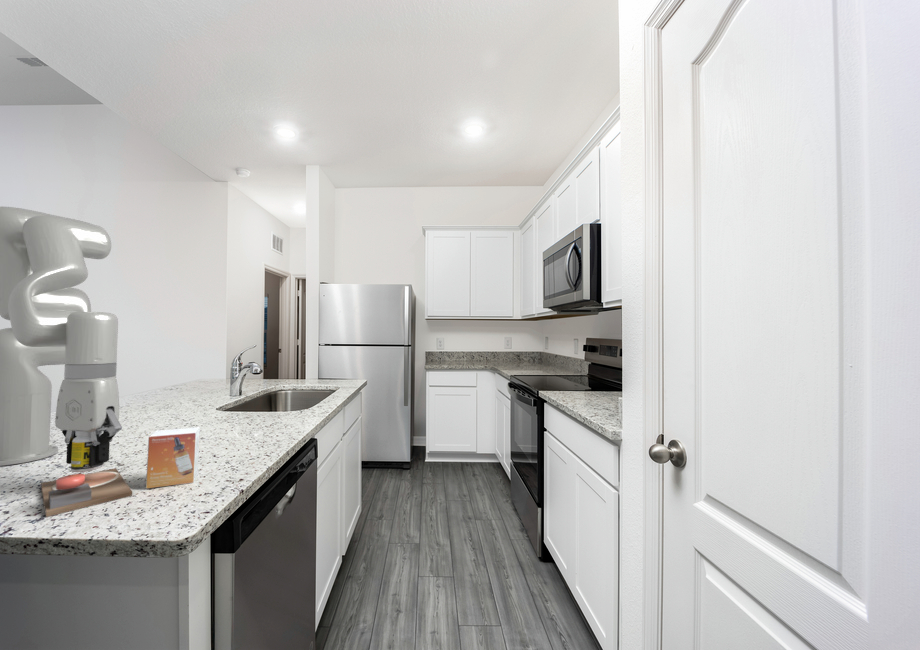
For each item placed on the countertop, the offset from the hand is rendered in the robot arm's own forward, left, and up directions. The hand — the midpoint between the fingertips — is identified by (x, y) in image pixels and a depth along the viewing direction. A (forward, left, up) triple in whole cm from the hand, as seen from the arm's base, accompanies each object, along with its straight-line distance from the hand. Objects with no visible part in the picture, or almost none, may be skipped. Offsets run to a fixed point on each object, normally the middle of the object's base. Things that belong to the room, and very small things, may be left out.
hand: (87, 461), depth 75 cm
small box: (+15, +5, -5) cm, 16 cm away
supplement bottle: (0, 0, -2) cm, 2 cm away
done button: (+6, -7, -1) cm, 10 cm away
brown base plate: (+3, -2, -5) cm, 6 cm away
